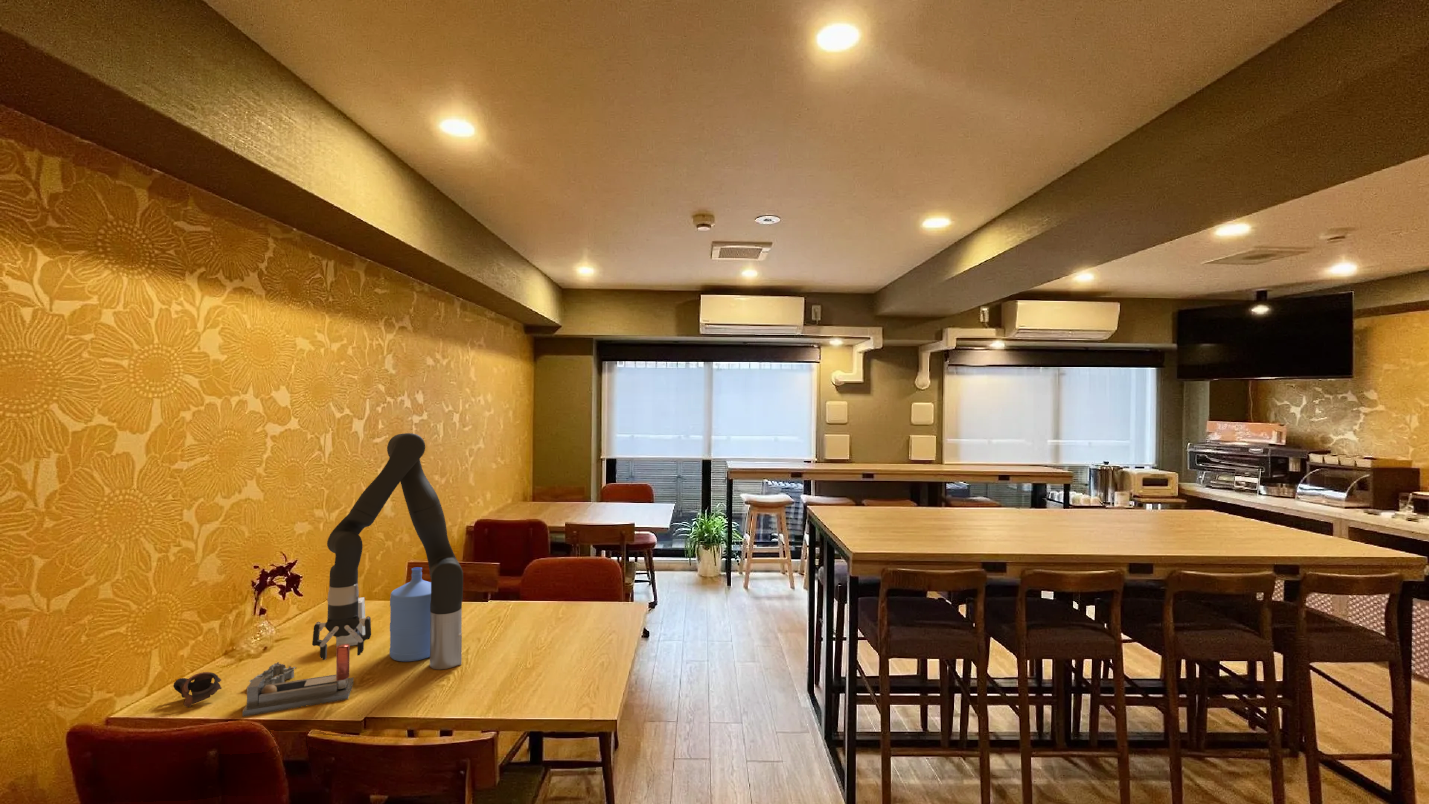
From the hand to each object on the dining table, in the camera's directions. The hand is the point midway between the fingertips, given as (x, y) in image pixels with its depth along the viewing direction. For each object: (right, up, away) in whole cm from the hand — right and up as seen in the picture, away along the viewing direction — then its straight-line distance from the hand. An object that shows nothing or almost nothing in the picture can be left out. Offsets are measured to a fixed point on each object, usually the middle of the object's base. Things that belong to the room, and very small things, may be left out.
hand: (341, 656), depth 173 cm
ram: (-3, -8, -2) cm, 9 cm away
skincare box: (-18, -10, +34) cm, 40 cm away
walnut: (-16, -9, -7) cm, 19 cm away
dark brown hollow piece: (-37, -10, -5) cm, 39 cm away
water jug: (+8, -10, +27) cm, 30 cm away
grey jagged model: (-24, -10, +6) cm, 27 cm away
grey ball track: (-9, -10, -4) cm, 14 cm away
